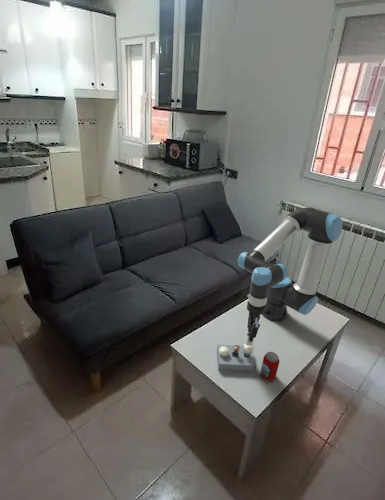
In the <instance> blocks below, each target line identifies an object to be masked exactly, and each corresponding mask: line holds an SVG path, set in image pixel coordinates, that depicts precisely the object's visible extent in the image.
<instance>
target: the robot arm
mask: <svg viewBox="0 0 385 500" xmlns="http://www.w3.org/2000/svg"><path fill="white" fill-rule="evenodd" d="M300 231H305V232H308V235H307V238H308V240H309V242H308V246H307V249H306V251H305V255H304V259H303V263H302V266H301V269H300V273H299V276H298V279H297V282H294V283H293V282H292V280H291V279H292V278H290V277H289V276H288V275H289V272H288V271H289V270H288V268H287V267H286V266H285V264H282V263H275V264H272V263H271V262H268V261H267V260H269V258H270V257H272V255H273V254H275V252H276V251H277V250H279V249H280V247H281V246H282V245H283V244H285V242H287V241H288V240H289V238H291V237H292V236H293V235H294V234H297V233H299V232H300ZM342 231H343V220H342V217H340V216H339V215H336V214H334V213H331V212H328V211H324V210H322V209H321V210H320V209H317V208H315V207H310V206H307V207H301V208H299V209H295V210H293V211H291V212H290V213H288V214H287V215H286V216H285V217H284V218H283V219H282V223H280V224H279V225H278V226H277V227H276V228H275V229H274V230H273V231H272V232H271V233H269V234H268V235H267V236H266V238H264V239H263V240H262V241H261V242H260V243H259V244H258V245H257V246H255V247H254V249H253V250H251V252H247V251H243V252H241V253H240V254H239V256H238V258H237V265H238V266H239V267H240V269H243V270H245V271H247V272H249V273H250V274H252V275H251V282H250V287H249V294H248V295H246V296H247V298H248V300H247V303H246V304H247V305H246V309H247V311H248V319H247V334H246V335H247V336H246V339H245V340H246V341H245V344H246V346H252V345H253V344H254V339H256V338H257V334H258V332H259V328H260V327H261V325H260V323H259V321H260V319H261V315H262V316H263V317H264V318H266V319H267V320H270V321H273V322H274V321H275V322H280V321H283V320H285V319H286V318H287V317H288V307H289V308H290V309H292V310H293V311H295V312H297V313H299V314H301V315H304V316H306V315H308V314H310V313H311V312H312V311H313V310H314V309H315V307H316V306H317V304H318V302H319V297H318V296H317V295H316V293H317V290H316V288H315V286H316V284H317V280H318V278H319V274H320V272H321V268H322V264H323V262H324V259H325V256H326V253H327V250H328V246H330V245H332V244H333V242H336V241H337V240H339V239H340V236H341V234H342ZM292 283H293V284H292ZM253 346H254V345H253Z"/></svg>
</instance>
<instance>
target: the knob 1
mask: <svg viewBox="0 0 385 500" xmlns="http://www.w3.org/2000/svg"><path fill="white" fill-rule="evenodd" d="M219 354H220V355H221V356H223V357H226V356H228V354H229V349H228V348H227V347H225V346H222V347H220V349H219Z"/></svg>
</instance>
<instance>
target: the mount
mask: <svg viewBox="0 0 385 500" xmlns="http://www.w3.org/2000/svg"><path fill="white" fill-rule="evenodd" d="M234 345H235V344H217V345H216V357H217V369H218V371H225V372H248V373H253V372H255V367H256V365H255V361H254V356H253V355H254V354H253V352H252V353H249V356H247V355H246V352H245V351H244V350H243V349H244V345H240V344H239V345H238V346H239V347H240V349H239V350H238V354H237V355H234V349H233V347H234ZM222 346H225V347H227V348H228V349H229V354H228V356H226V357H223V356H221V355H220V354H219V349H220V347H222Z"/></svg>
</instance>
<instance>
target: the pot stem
mask: <svg viewBox="0 0 385 500" xmlns="http://www.w3.org/2000/svg"><path fill="white" fill-rule="evenodd" d="M233 345H234V347H233V349H234V355H237V354H238V350H239V349H240V347H239V346H238V345H237V344H233Z"/></svg>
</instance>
